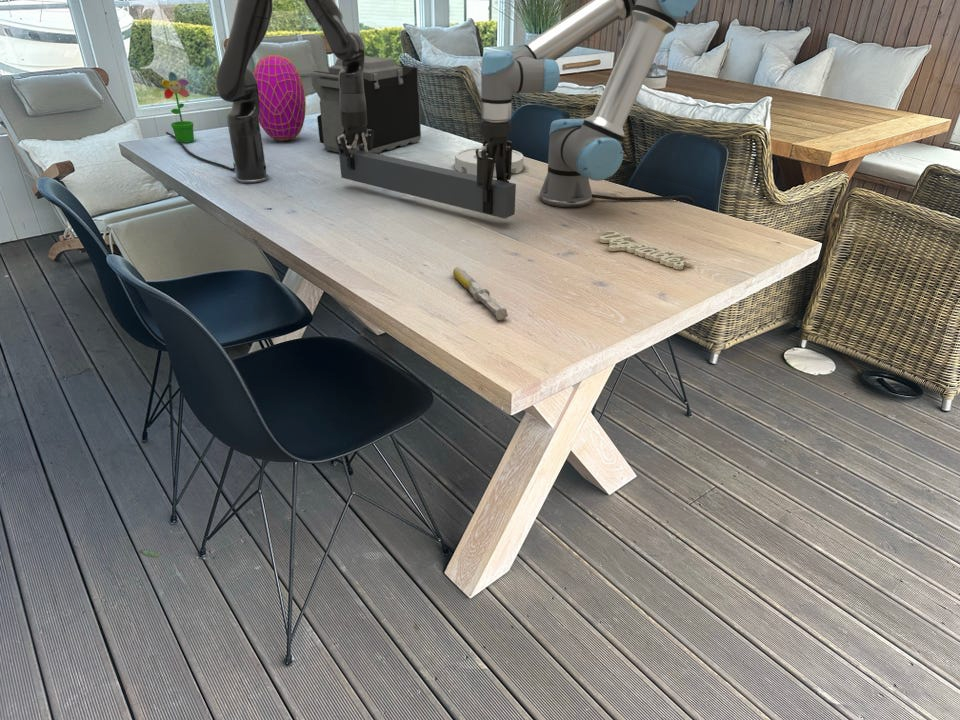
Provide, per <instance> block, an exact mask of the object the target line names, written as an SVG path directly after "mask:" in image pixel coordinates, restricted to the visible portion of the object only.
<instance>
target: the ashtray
mask: <svg viewBox="0 0 960 720" xmlns="http://www.w3.org/2000/svg"><path fill="white" fill-rule="evenodd" d="M482 147H483V146H481V147H480V146H479V147H471V148H465V149H461V150H459V151H457V152H455V154H454V168H455V171H459V172H463V173H468V174H472V175H477V156H476V149H481V148H482ZM490 159H492V158H490ZM524 159H525V158H524V155H523V153H522V152H520V151H517V150H514V149H512V165H511V174H519V173H520V172H522V171H523V169H524ZM506 175H507V174H506ZM493 178H497V176H496V168H495V166H494V172H493Z"/></svg>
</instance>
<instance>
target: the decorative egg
mask: <svg viewBox="0 0 960 720" xmlns="http://www.w3.org/2000/svg"><path fill="white" fill-rule="evenodd" d="M253 70H254V71H252V72H253V74H254V76H255V78H256V81H257V86H258V94H259V104H260V114H259V125H260V128H262V130H263V131H264V133H266V135H267V136H268V137H270V138H271V139H273V140H275V141H282V142H286V141H291V140H293V139H296V138H297V137H298V136H299V134H301V131H302V129H303V127H304V123H305V118H306V104H307V103H306V102H307V101H306V99H307V97H306V93H305V88H304V84H303V81H302V77H301V75H300V73H299V71H298V69H297V67H296V66H295V65H294V63H293V62H292V61H291V60H290V59H288V58H287V57H285V56H282V55H280V54H268V55H265V56H262V57H261V58H260V59H259V60H258V61H257V62H256V65H255V68H254V69H253Z"/></svg>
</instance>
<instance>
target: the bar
mask: <svg viewBox="0 0 960 720" xmlns="http://www.w3.org/2000/svg"><path fill="white" fill-rule="evenodd" d="M349 153H350V151H349ZM338 156H339V167H340V178H342V179H345V180H349V181H353V182H357V183H360V184H365V185H368V186H372V187H377V188H381V189H385V190H389V191H393V192H396V193H401V194H404V195H409V196H413V197H417V198H421V199H424V200H429V201H432V202H437V203H440V204H445V205H449V206H453V207H457V208H461V209H464V210H468V211H473V212H477V213H481V214H485V215H488V216H492V217H497V218H501V219H505V220H506V219H509V218H510V217H512V216H514V215H515V214H516V192H517V191H516V190H517V183H513V182H510V181H509V182H505V181H500V180H497V178H496V179H495V178H493V179H492V185H491V189H493V214H488V213H484V212H483V200H482V188H479V187H477V175H472V174H468V173H466V172H459V171H457V170H454V169H449V168H444V167H439V166H436V165H430V164H426V163H422V162H417V161H412V160H407V159H403V158H398V157H393V156H389V155H385V154H381V153H377V154H375V153H371V152H366V151H362V150H357V149H355V150H354V156H353V157H354V163H355V170H349V169H348V167H347V158H346V156H342V155H340V151H339V152H338Z"/></svg>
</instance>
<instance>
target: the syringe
mask: <svg viewBox="0 0 960 720" xmlns="http://www.w3.org/2000/svg"><path fill="white" fill-rule="evenodd" d="M452 274H453V277H454V279H455V280H457V281H458V282H459V283H460V285H462V287H464V289H466V290H467V291H468V293H470V295H471V296H472V298H473V300H474V302H477V303H478V302H480V303H482V304H483V305H484V306H485V307H486V308H487V309H488V310H489V311H490V312H491V313H492V314H493V315H494V316H495V317H496V320H497V321H503V320H504V319H506V318H507V317H509V314H508V310H507V308H506V307H502V306H501V305H500V303H498V302H497V301H496V300H494V299H493V298H492V297H491V296H490V295H491V293H490V290H488V289H486V288H483V287H482V286H481V285H480V284H479V283H478V282H477V281H476V280H474V278H473V277H471V275H469V274H468V273H467V272H466V270H465V269H464V268H463V267H462V266H456V267H454V268H453V271H452Z"/></svg>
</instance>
